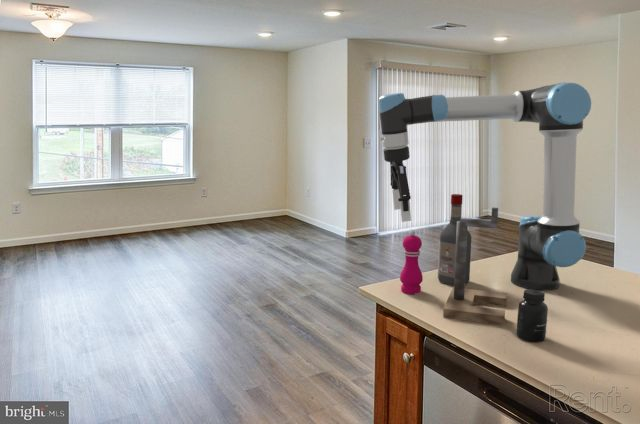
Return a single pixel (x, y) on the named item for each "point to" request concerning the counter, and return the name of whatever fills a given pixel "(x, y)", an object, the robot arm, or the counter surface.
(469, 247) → the liquor
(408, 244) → the pepper mill
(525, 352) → the counter surface
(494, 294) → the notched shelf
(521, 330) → the supplement bottle
